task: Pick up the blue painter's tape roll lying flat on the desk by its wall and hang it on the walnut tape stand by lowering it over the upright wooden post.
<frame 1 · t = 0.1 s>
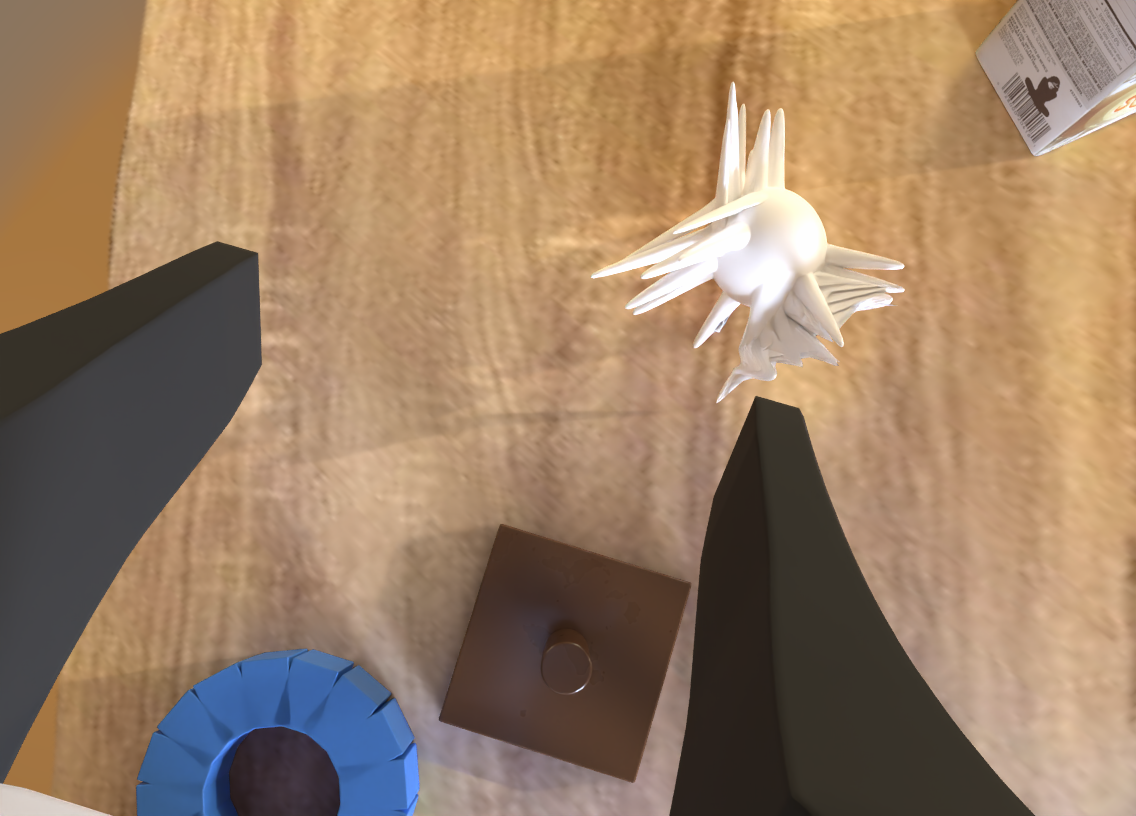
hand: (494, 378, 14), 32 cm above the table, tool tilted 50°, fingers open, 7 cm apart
coffee box: (1078, 71, 48), on the table
stand: (566, 648, 45), on the table
tape: (292, 778, 44), on the table
spiky ball: (716, 292, 47), on the table
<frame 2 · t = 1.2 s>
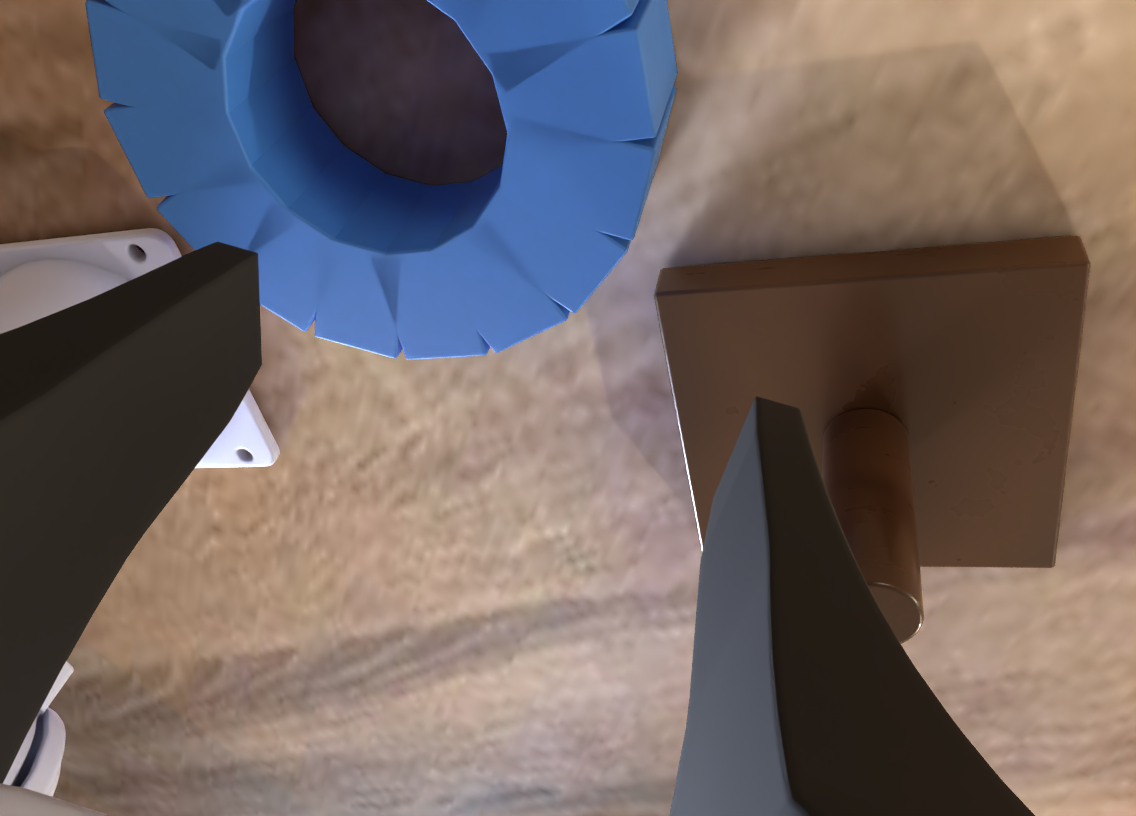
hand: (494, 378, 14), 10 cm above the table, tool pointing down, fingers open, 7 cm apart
stand: (864, 408, 25), on the table
tape: (417, 64, 21), on the table
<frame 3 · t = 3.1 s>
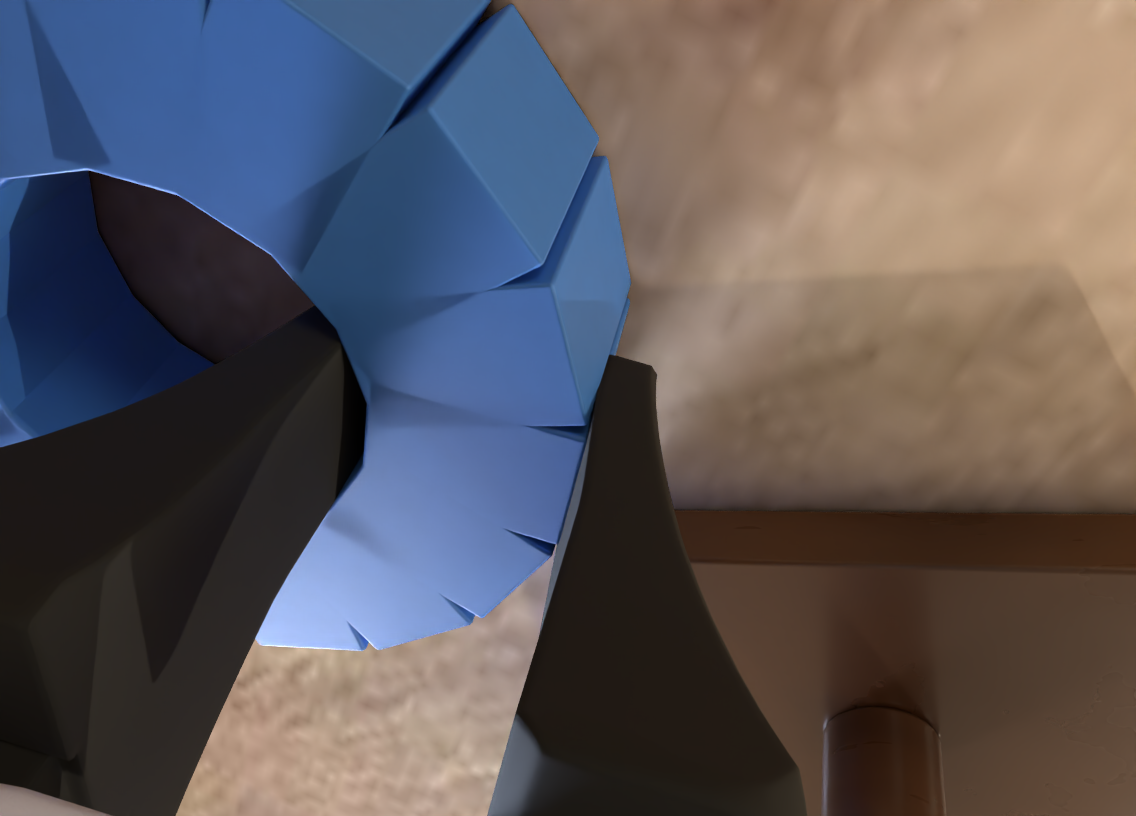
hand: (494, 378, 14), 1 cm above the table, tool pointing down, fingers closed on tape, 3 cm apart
stand: (879, 682, 18), on the table
tape: (266, 250, 15), on the table, touching gripper
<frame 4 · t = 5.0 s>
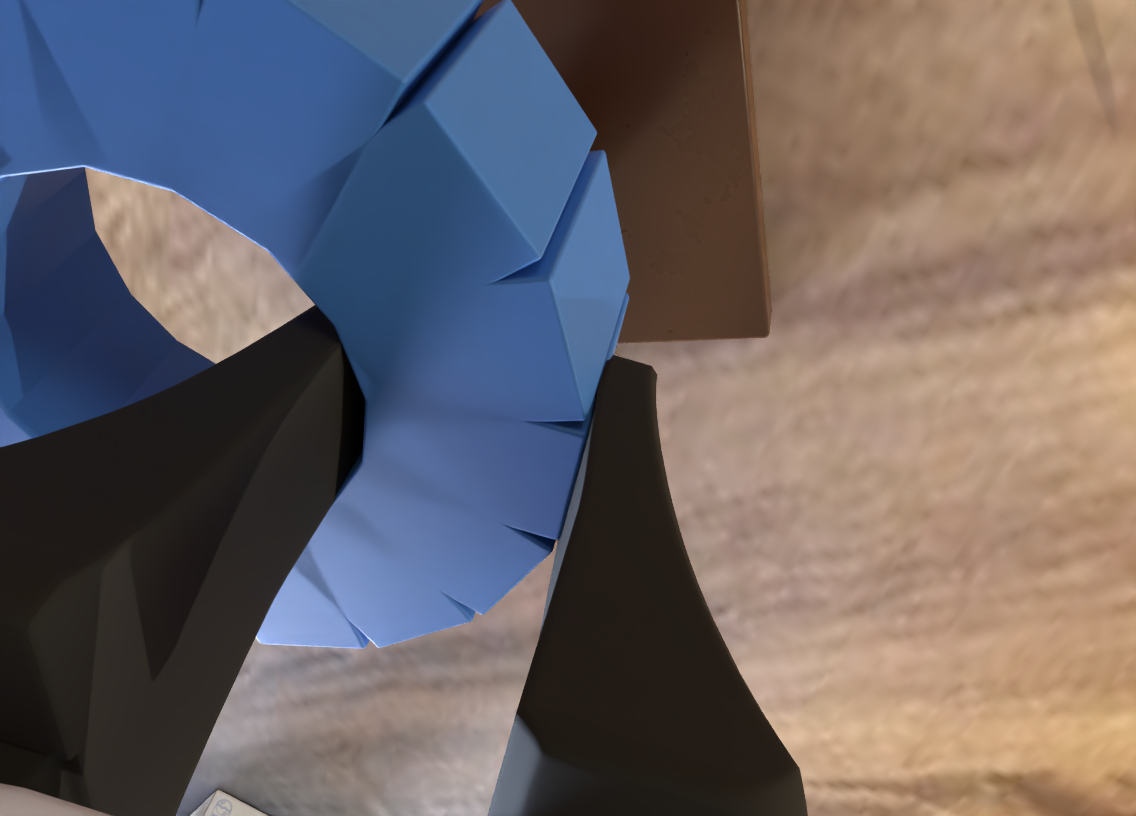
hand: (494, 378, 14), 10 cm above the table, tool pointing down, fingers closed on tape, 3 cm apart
stand: (558, 155, 22), on the table
tape: (264, 248, 15), point 9 cm above the table, touching gripper
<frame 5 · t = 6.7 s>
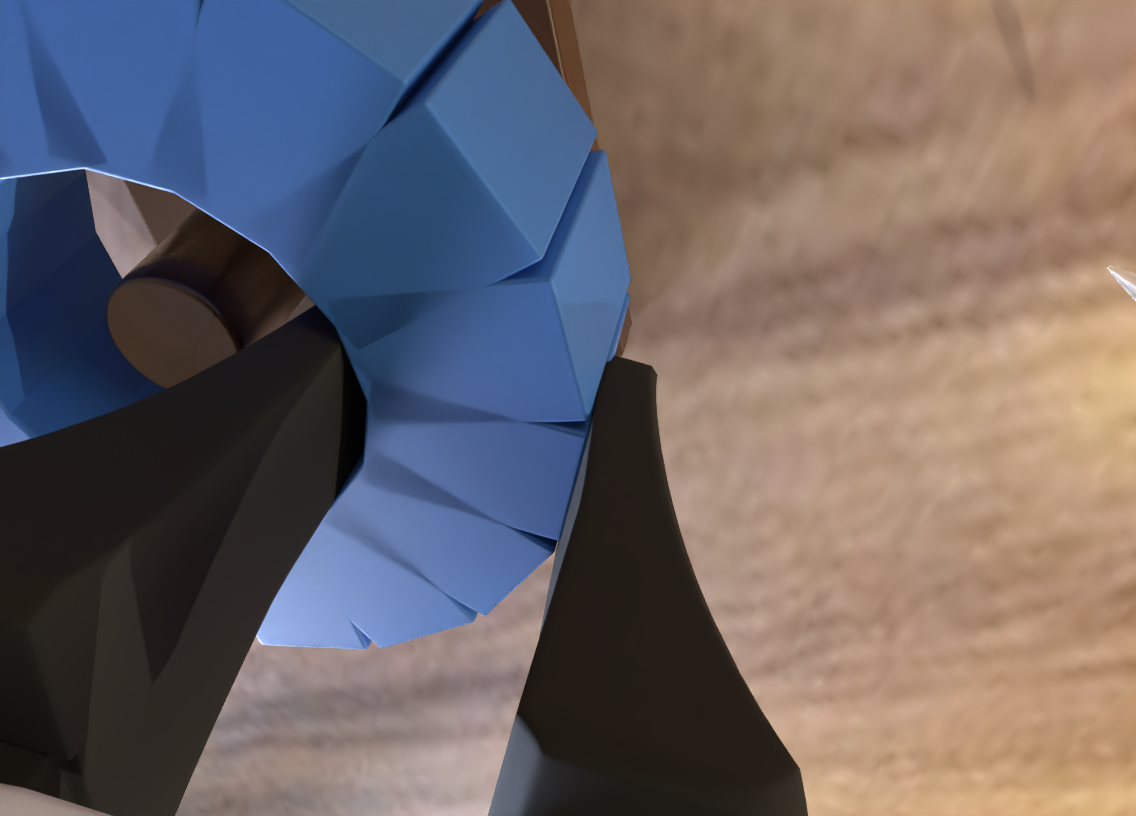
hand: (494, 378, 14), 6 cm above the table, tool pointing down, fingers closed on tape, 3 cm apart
stand: (358, 135, 18), on the table
tape: (265, 249, 15), point 4 cm above the table, touching gripper
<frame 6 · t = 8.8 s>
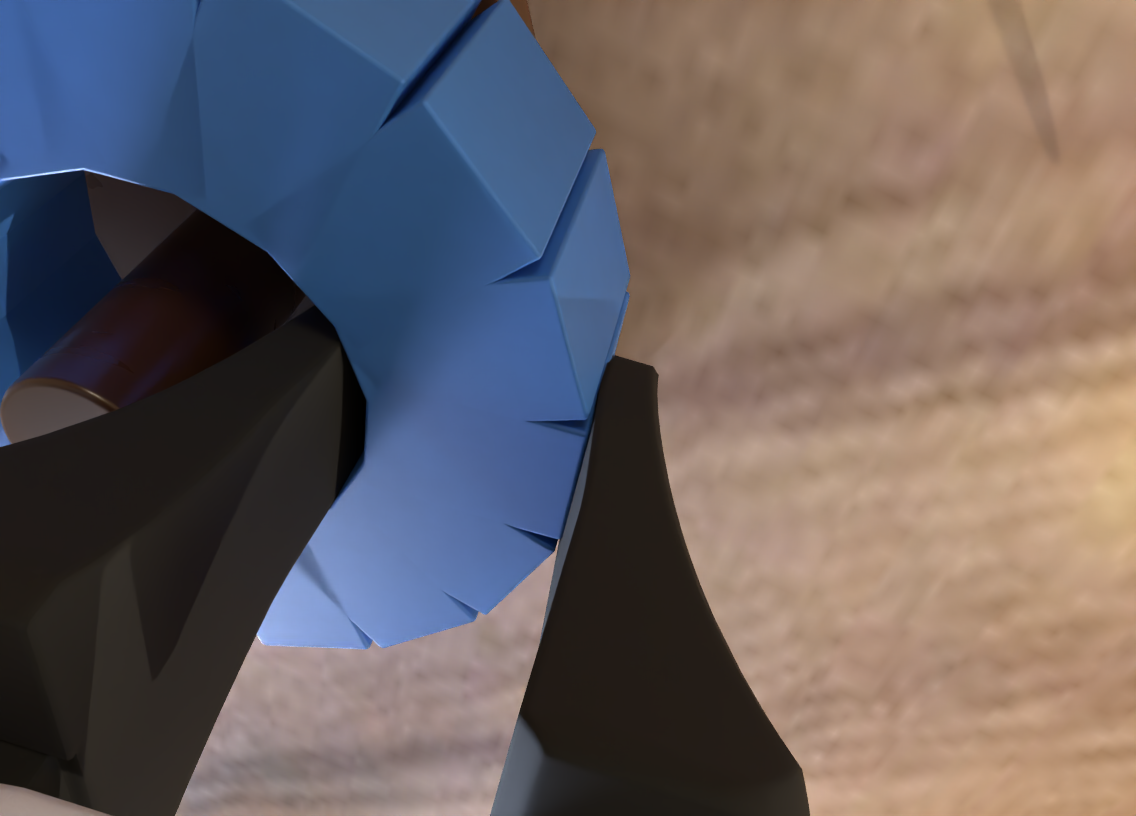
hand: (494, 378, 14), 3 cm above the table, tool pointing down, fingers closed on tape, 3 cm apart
stand: (310, 189, 17), on the table
tape: (264, 249, 15), point 2 cm above the table, touching gripper
when the fingers open (4 cm above the table, at t = 10.6 s): tape drops 2 cm, resting on stand.
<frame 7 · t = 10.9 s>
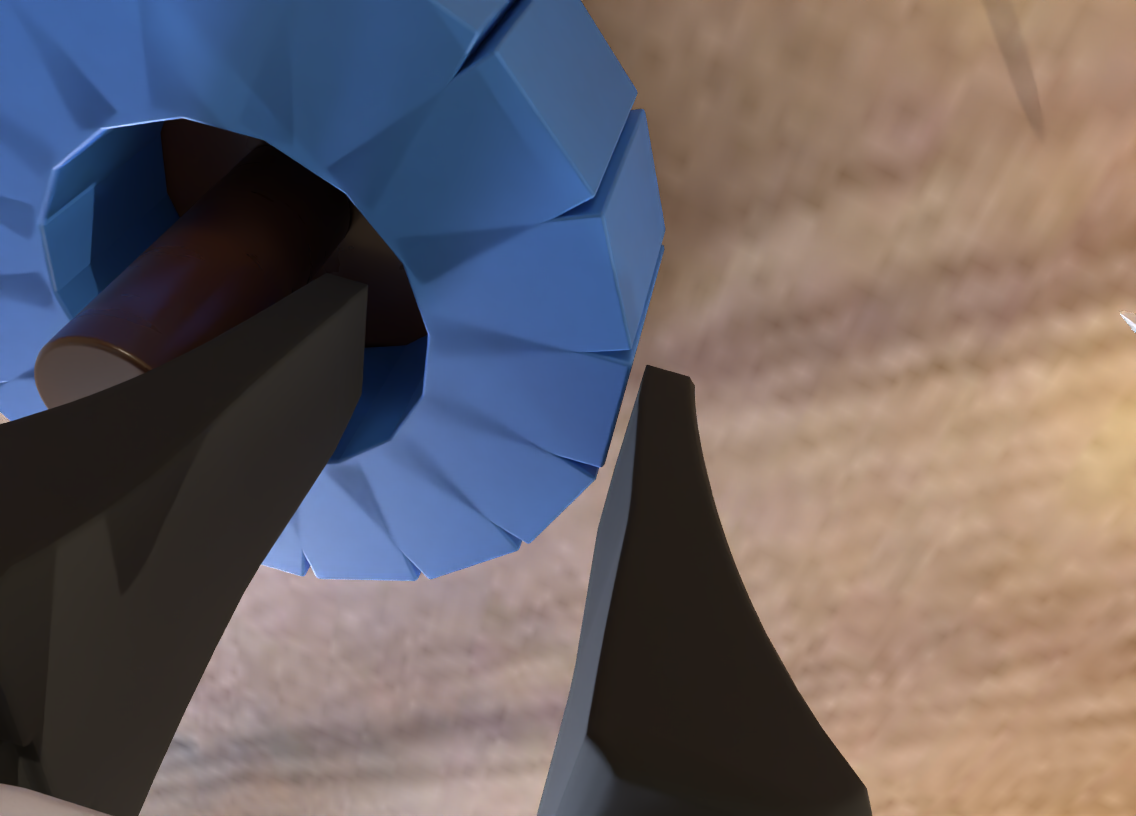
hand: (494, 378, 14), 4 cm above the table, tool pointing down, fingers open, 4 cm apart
stand: (323, 167, 17), on the table
tape: (324, 207, 16), point 1 cm above the table, touching stand
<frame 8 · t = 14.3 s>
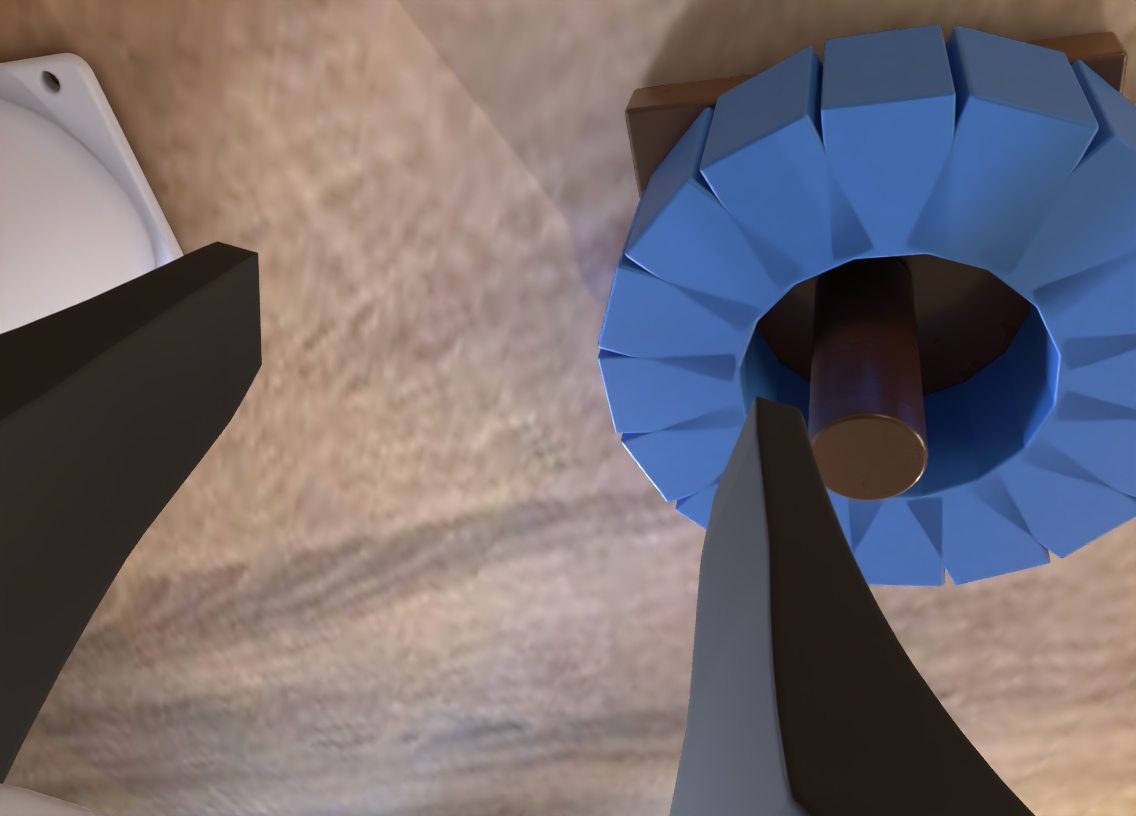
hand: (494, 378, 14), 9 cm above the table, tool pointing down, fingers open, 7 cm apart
stand: (862, 260, 22), on the table
tape: (887, 295, 21), point 1 cm above the table, touching stand
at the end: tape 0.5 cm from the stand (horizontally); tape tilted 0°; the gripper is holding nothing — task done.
